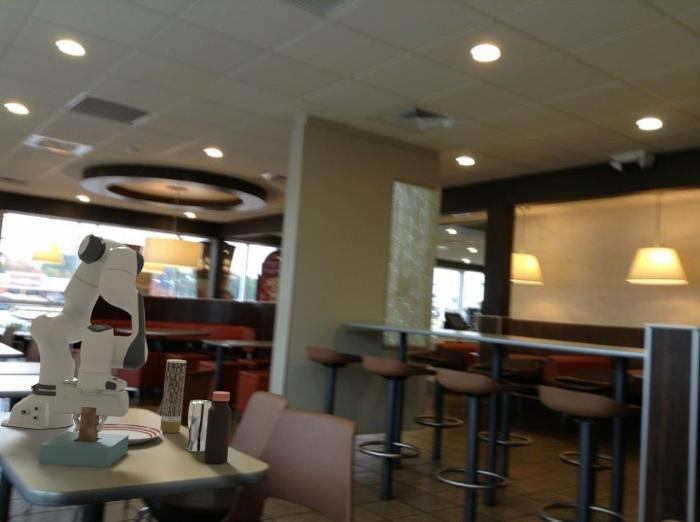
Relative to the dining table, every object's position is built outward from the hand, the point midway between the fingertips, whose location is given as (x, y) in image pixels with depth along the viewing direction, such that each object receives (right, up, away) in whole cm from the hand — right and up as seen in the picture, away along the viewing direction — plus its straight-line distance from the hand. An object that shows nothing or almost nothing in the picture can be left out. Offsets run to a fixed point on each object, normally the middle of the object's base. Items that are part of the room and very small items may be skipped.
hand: (88, 430), depth 174 cm
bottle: (+35, -11, +5) cm, 37 cm away
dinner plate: (-1, -10, +25) cm, 27 cm away
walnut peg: (0, -5, -1) cm, 5 cm away
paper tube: (+11, -12, +42) cm, 45 cm away
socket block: (-1, -7, -1) cm, 8 cm away
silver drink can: (+26, -11, +18) cm, 33 cm away
